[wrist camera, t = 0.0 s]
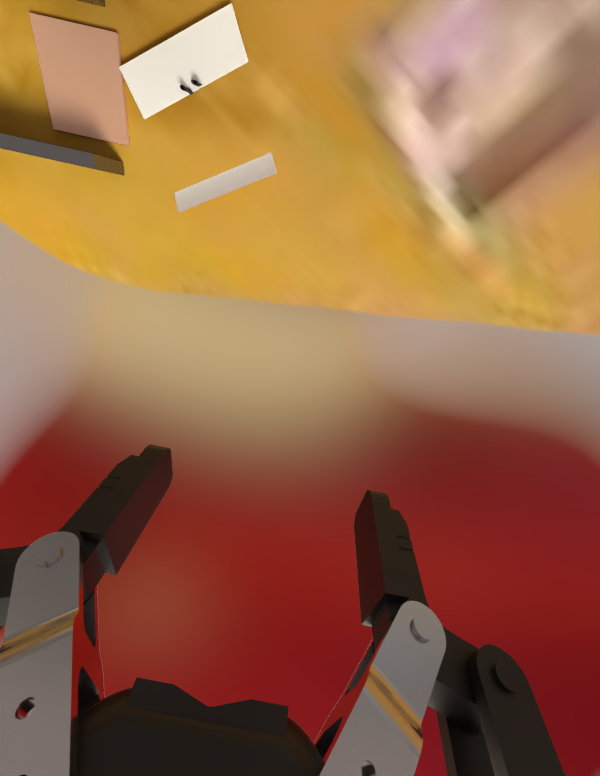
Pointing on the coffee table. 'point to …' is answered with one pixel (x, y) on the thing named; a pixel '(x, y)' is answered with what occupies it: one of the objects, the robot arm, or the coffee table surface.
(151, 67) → the white strips
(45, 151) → the guide rails
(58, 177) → the coffee table surface
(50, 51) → the pad
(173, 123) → the coffee table surface
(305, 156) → the coffee table surface
